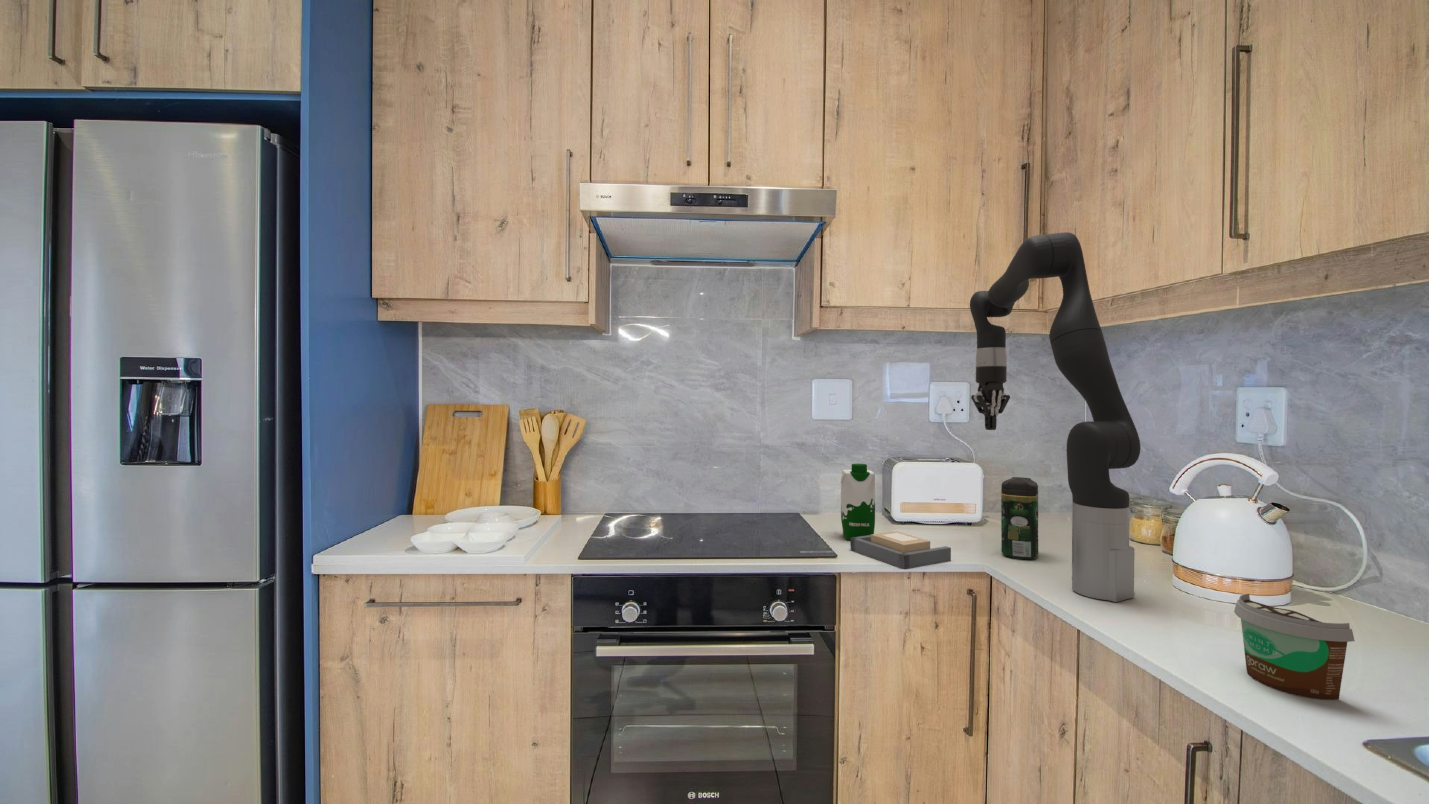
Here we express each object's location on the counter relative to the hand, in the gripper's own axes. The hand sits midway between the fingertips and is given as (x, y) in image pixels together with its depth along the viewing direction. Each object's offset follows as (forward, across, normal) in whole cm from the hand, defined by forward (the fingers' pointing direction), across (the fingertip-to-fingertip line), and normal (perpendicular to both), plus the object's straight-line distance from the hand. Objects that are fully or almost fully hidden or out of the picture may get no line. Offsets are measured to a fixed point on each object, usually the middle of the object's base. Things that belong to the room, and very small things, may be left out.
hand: (990, 429), depth 158 cm
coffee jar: (+29, -9, -15) cm, 34 cm away
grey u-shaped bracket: (+29, -34, -2) cm, 45 cm away
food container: (+29, -36, -72) cm, 86 cm away
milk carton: (+29, -32, +16) cm, 46 cm away
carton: (+29, -36, -4) cm, 47 cm away
